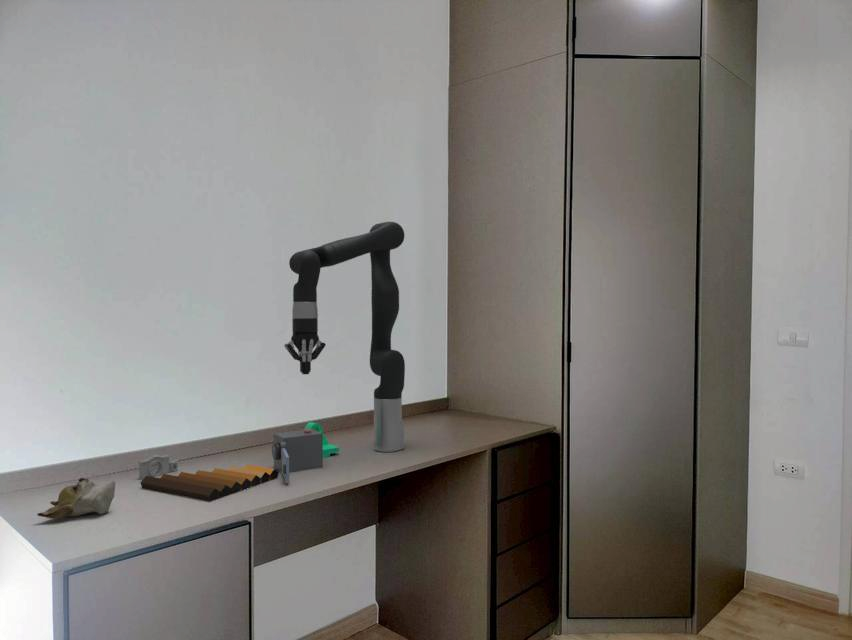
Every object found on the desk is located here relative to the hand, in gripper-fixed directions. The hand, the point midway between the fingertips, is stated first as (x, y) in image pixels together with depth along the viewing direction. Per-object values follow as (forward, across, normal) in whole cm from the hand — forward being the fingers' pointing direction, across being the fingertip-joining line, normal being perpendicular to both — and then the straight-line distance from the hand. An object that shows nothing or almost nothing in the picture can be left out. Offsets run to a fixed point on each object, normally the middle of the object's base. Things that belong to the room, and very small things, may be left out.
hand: (305, 374), depth 193 cm
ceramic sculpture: (+27, +62, +17) cm, 70 cm away
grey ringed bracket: (+27, +40, -10) cm, 50 cm away
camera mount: (+27, -7, -7) cm, 29 cm away
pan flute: (+28, +30, +7) cm, 41 cm away
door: (+27, +12, +14) cm, 33 cm away
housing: (+27, +5, +5) cm, 28 cm away
